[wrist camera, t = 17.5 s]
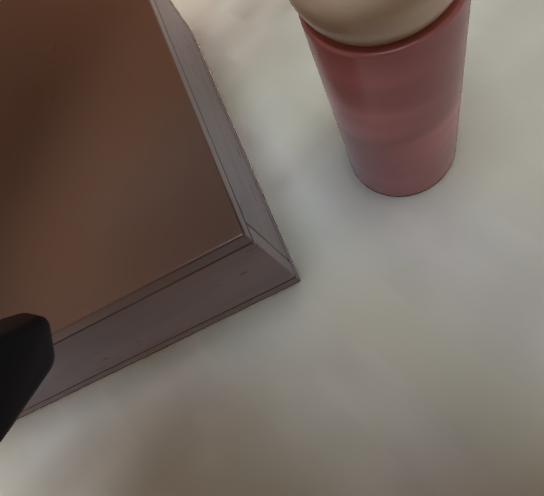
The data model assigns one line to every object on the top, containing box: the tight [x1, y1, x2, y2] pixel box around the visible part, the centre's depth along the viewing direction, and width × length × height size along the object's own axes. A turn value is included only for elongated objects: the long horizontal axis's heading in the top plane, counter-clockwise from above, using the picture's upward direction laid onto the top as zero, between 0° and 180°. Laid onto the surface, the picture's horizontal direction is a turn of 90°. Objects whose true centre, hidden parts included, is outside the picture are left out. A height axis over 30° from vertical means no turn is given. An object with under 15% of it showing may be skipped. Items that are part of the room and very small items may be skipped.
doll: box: [289, 0, 471, 196], centre depth 11 cm, size 4×4×10 cm
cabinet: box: [0, 0, 300, 419], centre depth 17 cm, size 13×12×5 cm
